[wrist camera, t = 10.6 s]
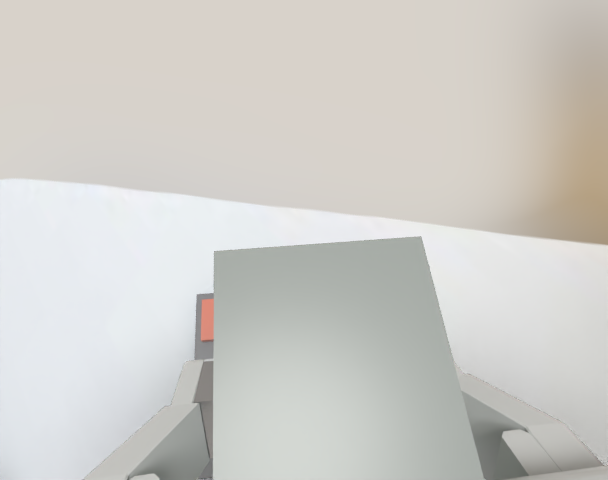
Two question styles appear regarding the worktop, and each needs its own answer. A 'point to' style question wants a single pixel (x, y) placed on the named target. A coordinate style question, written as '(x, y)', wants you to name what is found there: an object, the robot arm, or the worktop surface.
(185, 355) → the worktop surface
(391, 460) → the plug block
